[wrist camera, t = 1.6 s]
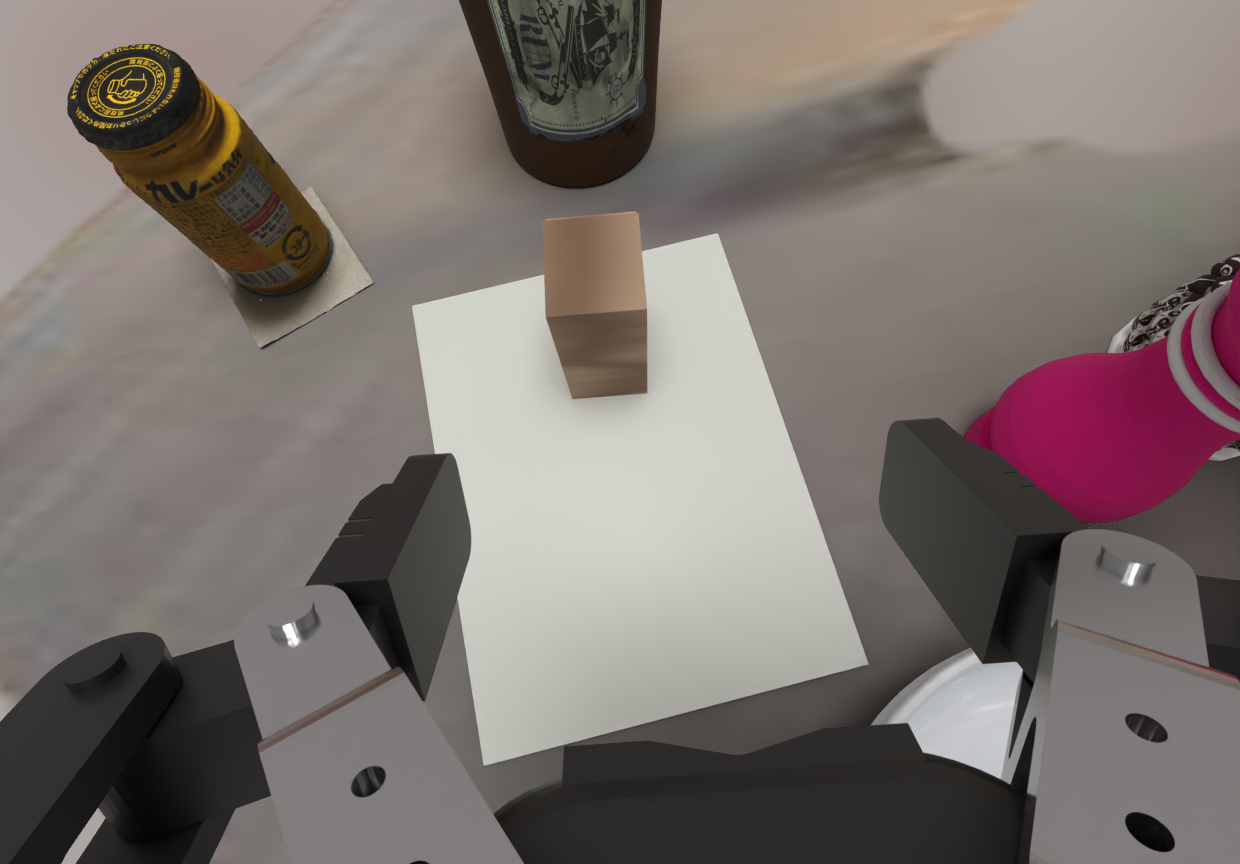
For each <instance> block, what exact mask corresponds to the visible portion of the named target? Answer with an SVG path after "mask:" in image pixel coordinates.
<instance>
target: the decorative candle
mask: <svg viewBox="0 0 1240 864" xmlns="http://www.w3.org/2000/svg"><path fill="white" fill-rule="evenodd" d="M1239 268H1240V254H1238V255H1234V256H1232V257H1229V258H1228V259H1227V260H1225V261H1223V262H1220V263H1217V264H1216V265H1214V266H1213V267H1212V270H1211V275H1203V276H1201V277H1199V278H1197V279H1196V280H1195V281H1190V282H1187V283H1185V284H1183V285H1181V286H1180V287H1178V288H1177V289H1176V291H1175V293H1174V294H1172V295H1170V296H1168V297H1166V298H1164V299H1161V300H1159V301H1157V302H1155V303H1154V304H1153V305H1152V307H1151V309H1150V310H1147V311H1145V312H1143V313H1142V314H1140V315H1139V316H1137V317H1135V318H1134V319H1132V320H1131V321H1130V322H1129V323H1128V324H1127V325H1125V326H1124V327H1123V328H1122V329H1121V330H1120V331H1119V332H1117V333H1116V334H1115V335H1114V336H1113V337H1112V340H1111V343H1110V346H1109V348H1108V351H1107V353H1124V352H1131V351H1135V350H1139V349H1141V348H1143V347H1145V346H1147V345H1150V344H1152V343H1154V342H1156V341H1158V340H1160V339H1162V338H1164V337H1166V336H1167V335H1169V333H1170V330H1171V327H1172V325H1173V323H1174V321H1175V319H1176V318H1177V317H1178V315H1179V314H1180V313H1181V312H1182V311H1183V310H1184V309H1185V308H1186V307H1188V306H1189V305H1190V304H1192V303H1194V302H1195V301H1197V300H1199V299H1201V298H1204V297H1206V296H1208V295H1209V294H1211V293H1212V292H1213V291H1214V290H1215V289H1217V288H1219V287H1220V286H1222V285H1224V284H1227V283H1229V282H1232V280H1233V277H1234V276H1235V274H1236V273H1237V271H1238V270H1239ZM1236 456H1240V439H1239V440H1237V441H1235V442H1232V443H1230V444H1227V445H1225V446H1224V447H1222V448H1221V449H1219V450H1218V451H1216V452H1215V453H1214V454H1213V455H1212V456H1211V457H1210V458H1209V459H1208V460H1214V461H1223V460H1226V459H1229V458H1233V457H1236Z"/></svg>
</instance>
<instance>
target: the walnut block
mask: <svg viewBox="0 0 1240 864" xmlns="http://www.w3.org/2000/svg"><path fill="white" fill-rule="evenodd" d="M542 222H543V253H544V284H545V315H546V320H547V323H548V326H549V329H550V332H551V335H552V338H553V341H554V344H555V347H556V350H557V353H558V356H559V360H560V363H561V366H562V369H563V372H564V375H565V378H566V381H567V384H568V387H569V390H570V393H571V396H572V399H581V398H594V397H607V396H620V395H632V394H645V393H647V302H646V291H645V280H644V269H643V258H642V247H641V236H640V225H639V214H638V213H636V212H625V213H613V214H601V215H589V216H578V217H566V218H554V219H546V221H542Z"/></svg>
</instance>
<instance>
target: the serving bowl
mask: <svg viewBox="0 0 1240 864" xmlns="http://www.w3.org/2000/svg"><path fill="white" fill-rule="evenodd" d="M1022 671H1023V669H1022V668H1021V667H1020V666H1019V664H1018V663H1017V662H1007V663H993V664H982V663H981V661H980V660H979V659H978V657H977V656H976V654H975V653H974V651H973V650H972V649H971V648H969V649H966V650H964V651H962V652H960V653H958V654H956V655H954V656H952V657H950V658H948V659H946V660H944V661H943V662H941V663H939V664H937V665H935V666H934V667H932V668H930V669H929V670H928V671H926V672H925V673H923V674H922V675H921V676H919V677H918V678H916V679H915V680H914V681H912V682H911V683H910V684H909V685H908V686H907V687H905V688H904V689H903V690H902V691H901V692H899V693H898V694H897V695H896V696H895V697H894V698H893V699H892V700H891V702H890V703H889V704H888V705H887V706H886V707H885V708H884V709H883V710H882V711H881V712H880V713H879V715H878V716H877V717H876V719H875V720H874V721H873V723H872V724H871V725H884V724H898V723H908V724H909V726H910V728H911V730H912V732H913V734H914V736H915V738H916V740H917V741H918V743H919V745H920V747H921V749H922V751H923V752H924V753H929V754H934V755H937V756H941V757H945V758H949V759H952V760H956V761H958V762H961V763H964V764H967V765H969V766H972V767H975V768H977V769H980V770H982V771H984V772H986V773H988V774H991V775H993V776H995V777H997V778H999V779H1001V775H1002V769H1003V764H1004V758H1005V753H1006V747H1007V741H1008V736H1009V730H1010V725H1011V719H1012V714H1013V708H1014V703H1015V697H1016V692H1017V687H1018V683H1019V680H1020V677H1021V674H1022Z"/></svg>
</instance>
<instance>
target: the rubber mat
mask: <svg viewBox="0 0 1240 864" xmlns="http://www.w3.org/2000/svg"><path fill="white" fill-rule="evenodd" d="M642 258H643V269H644V280H645V291H646V302H647V393H645V394H632V395H620V396H607V397H594V398H581V399H572V396H571V393H570V390H569V387H568V384H567V381H566V378H565V375H564V372H563V369H562V366H561V363H560V360H559V356H558V353H557V350H556V347H555V344H554V341H553V338H552V335H551V332H550V329H549V326H548V323H547V320H546V315H545V284H544V275H540V276H536V277H532V278H528V279H524V280H519V281H515V282H511V283H507V284H503V285H498V286H494V287H490V288H486V289H482V290H477V291H473V292H469V293H465V294H461V295H456V296H452V297H448V298H444V299H440V300H435V301H431V302H427V303H423V304H419V305H414V306H412V309H413V315H414V321H415V328H416V334H417V341H418V347H419V353H420V360H421V366H422V373H423V379H424V385H425V392H426V398H427V405H428V411H429V418H430V424H431V430H432V437H433V443H434V450H435V454H442V453H452V454H453V456H454V457H455V459H456V462H457V466H458V470H459V475H460V479H461V484H462V489H463V493H464V498H465V502H466V507H467V512H468V516H469V521H470V527H471V553H470V557H469V561H468V564H467V567H466V570H465V574H464V577H463V580H462V583H461V587H460V590H459V593H458V596H457V597H458V603H459V610H460V616H461V623H462V629H463V635H464V642H465V648H466V655H467V661H468V668H469V674H470V680H471V687H472V693H473V700H474V706H475V712H476V719H477V725H478V732H479V738H480V744H481V751H482V757H483V764H484V766H485V765H489V764H493V763H497V762H501V761H504V760H508V759H512V758H516V757H519V756H523V755H527V754H531V753H535V752H538V751H542V750H546V749H550V748H554V747H557V746H561V745H565V744H569V743H573V742H576V741H580V740H584V739H588V738H591V737H595V736H599V735H603V734H607V733H610V732H614V731H618V730H622V729H626V728H629V727H633V726H637V725H641V724H644V723H648V722H652V721H656V720H660V719H663V718H667V717H671V716H675V715H679V714H682V713H686V712H690V711H694V710H697V709H701V708H705V707H709V706H713V705H716V704H720V703H724V702H728V701H732V700H735V699H739V698H743V697H747V696H751V695H754V694H758V693H762V692H766V691H769V690H773V689H777V688H781V687H785V686H788V685H792V684H796V683H800V682H804V681H807V680H811V679H815V678H819V677H822V676H826V675H830V674H834V673H838V672H841V671H845V670H849V669H853V668H857V667H860V666H864V665H868V661H867V658H866V655H865V652H864V649H863V646H862V644H861V641H860V638H859V635H858V632H857V629H856V626H855V624H854V621H853V618H852V615H851V612H850V609H849V607H848V604H847V601H846V598H845V595H844V592H843V589H842V587H841V584H840V581H839V578H838V575H837V572H836V569H835V567H834V564H833V561H832V558H831V555H830V552H829V549H828V547H827V544H826V541H825V538H824V535H823V532H822V529H821V527H820V524H819V521H818V518H817V515H816V512H815V509H814V507H813V504H812V501H811V498H810V495H809V492H808V490H807V487H806V484H805V481H804V478H803V475H802V472H801V470H800V467H799V464H798V461H797V458H796V455H795V452H794V450H793V447H792V444H791V441H790V438H789V435H788V432H787V430H786V427H785V424H784V421H783V418H782V415H781V412H780V410H779V407H778V404H777V401H776V398H775V395H774V393H773V390H772V387H771V384H770V381H769V378H768V375H767V373H766V370H765V367H764V364H763V361H762V358H761V355H760V353H759V350H758V347H757V344H756V341H755V338H754V335H753V333H752V330H751V327H750V324H749V321H748V318H747V315H746V313H745V310H744V307H743V304H742V301H741V298H740V296H739V293H738V290H737V287H736V284H735V281H734V278H733V276H732V273H731V270H730V267H729V264H728V261H727V258H726V256H725V253H724V250H723V247H722V244H721V241H720V238H719V236H718V233H717V234H713V235H708V236H704V237H700V238H696V239H692V240H687V241H683V242H679V243H675V244H671V245H666V246H662V247H658V248H654V249H650V250H645V251H642Z"/></svg>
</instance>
